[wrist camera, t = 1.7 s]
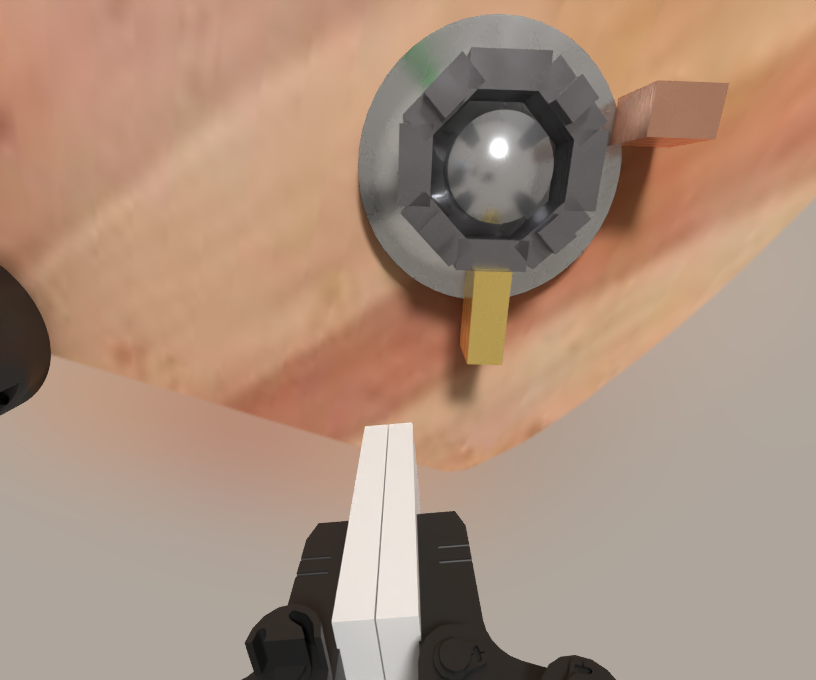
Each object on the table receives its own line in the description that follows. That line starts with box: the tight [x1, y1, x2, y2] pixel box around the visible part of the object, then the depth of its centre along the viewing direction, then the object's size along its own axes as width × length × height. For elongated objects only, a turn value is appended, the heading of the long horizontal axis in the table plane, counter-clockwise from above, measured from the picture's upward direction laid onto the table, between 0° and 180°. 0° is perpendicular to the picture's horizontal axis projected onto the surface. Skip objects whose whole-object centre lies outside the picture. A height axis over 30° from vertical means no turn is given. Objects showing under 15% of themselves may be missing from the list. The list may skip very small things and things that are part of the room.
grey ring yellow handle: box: [398, 47, 609, 365], centre depth 27 cm, size 19×12×4 cm, turn 178°
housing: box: [358, 14, 729, 298], centre depth 27 cm, size 21×18×6 cm
